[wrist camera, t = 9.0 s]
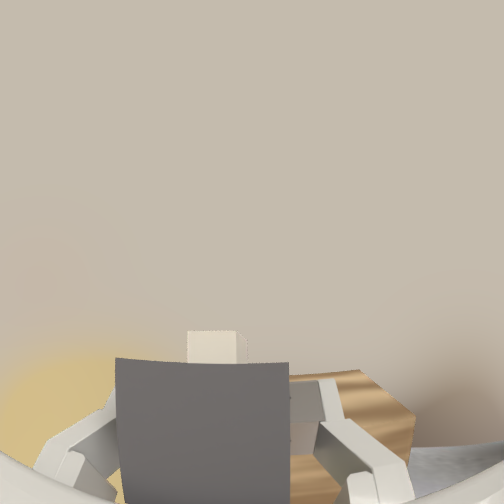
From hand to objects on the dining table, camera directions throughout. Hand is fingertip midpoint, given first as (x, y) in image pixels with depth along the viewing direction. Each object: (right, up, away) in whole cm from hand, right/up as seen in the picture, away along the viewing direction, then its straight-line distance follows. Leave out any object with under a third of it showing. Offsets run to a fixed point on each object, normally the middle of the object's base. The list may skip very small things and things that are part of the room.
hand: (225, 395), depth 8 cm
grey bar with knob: (+1, -5, +6) cm, 8 cm away
